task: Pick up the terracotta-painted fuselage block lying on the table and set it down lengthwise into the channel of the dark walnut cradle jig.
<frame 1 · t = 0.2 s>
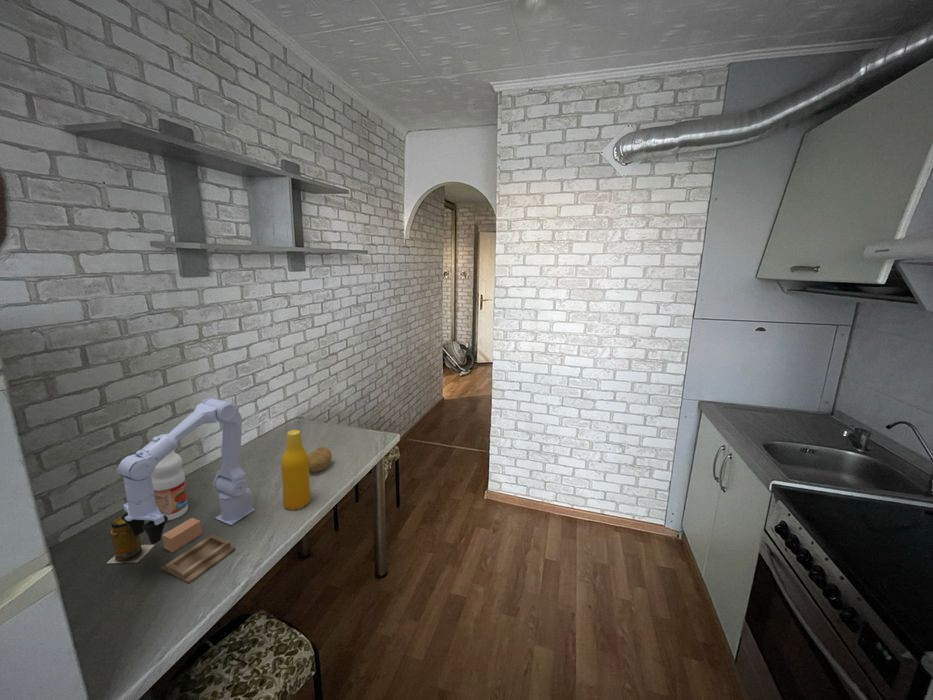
hand: (147, 537, 108), 10 cm above the table, fingers open, 7 cm apart
fruit juice: (172, 513, 133), on the table
cradle jig: (199, 559, 114), on the table
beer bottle: (297, 503, 142), on the table
fuselage: (183, 541, 121), on the table
potato: (318, 469, 166), on the table
condiment: (131, 554, 115), on the table
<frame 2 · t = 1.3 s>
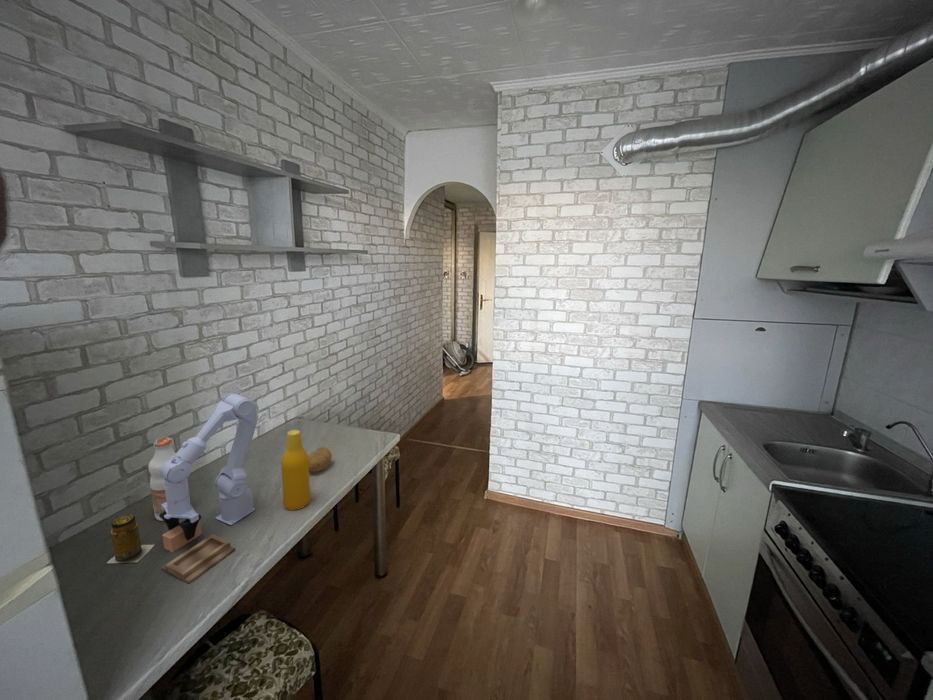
hand: (182, 534, 120), 2 cm above the table, fingers open, 7 cm apart
nothing on the table moved.
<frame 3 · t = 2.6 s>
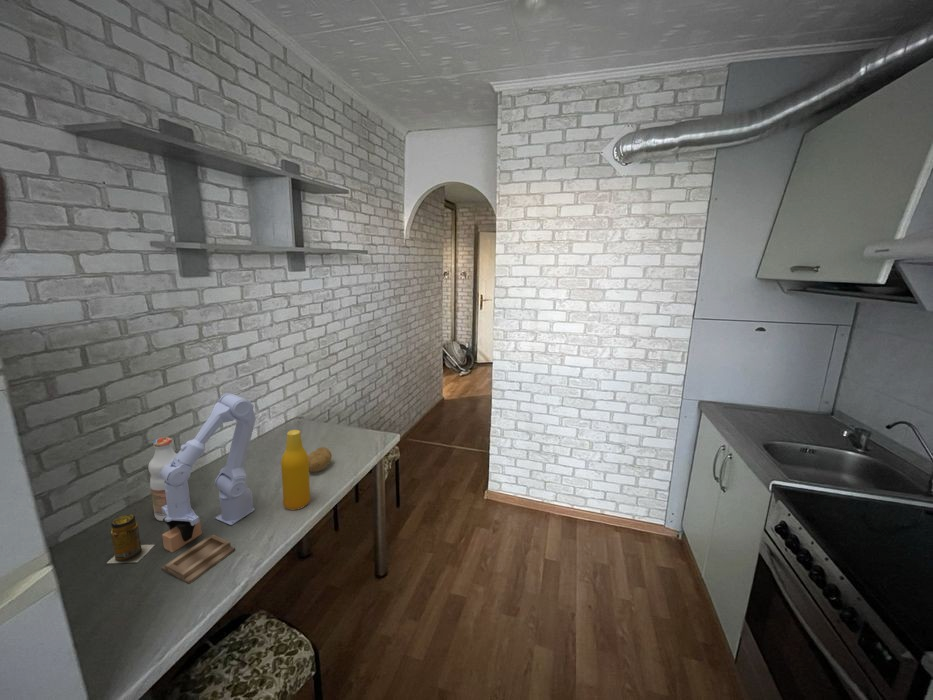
hand: (183, 537, 121), 1 cm above the table, fingers closed on fuselage, 4 cm apart
fuselage: (183, 540, 121), on the table, touching gripper
everything else where it was.
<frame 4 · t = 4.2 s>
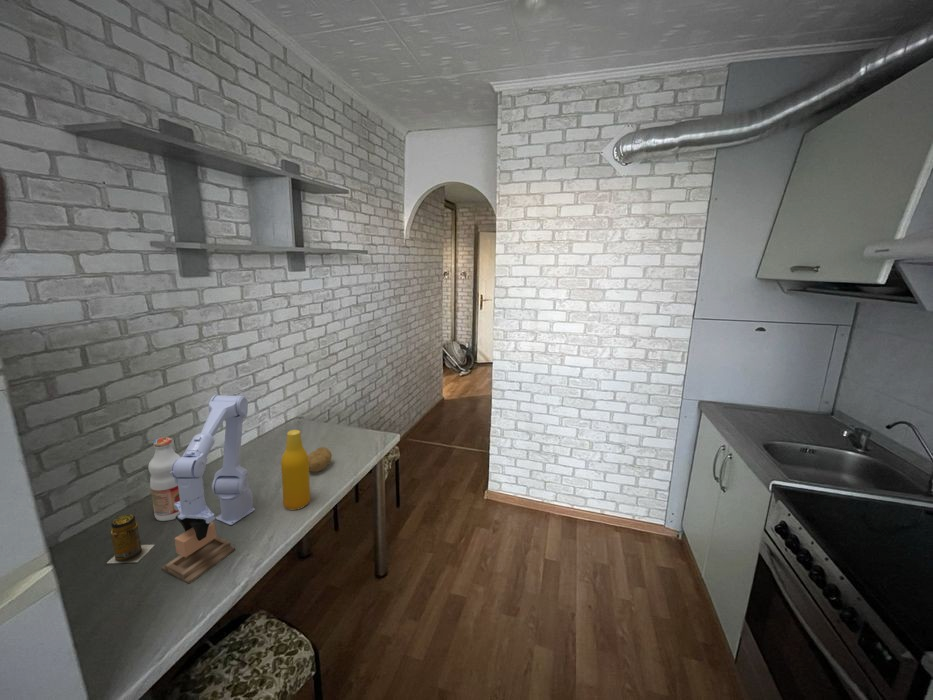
hand: (196, 535, 112), 8 cm above the table, fingers closed on fuselage, 4 cm apart
fuselage: (197, 544, 113), point 5 cm above the table, touching gripper
everything else where it was.
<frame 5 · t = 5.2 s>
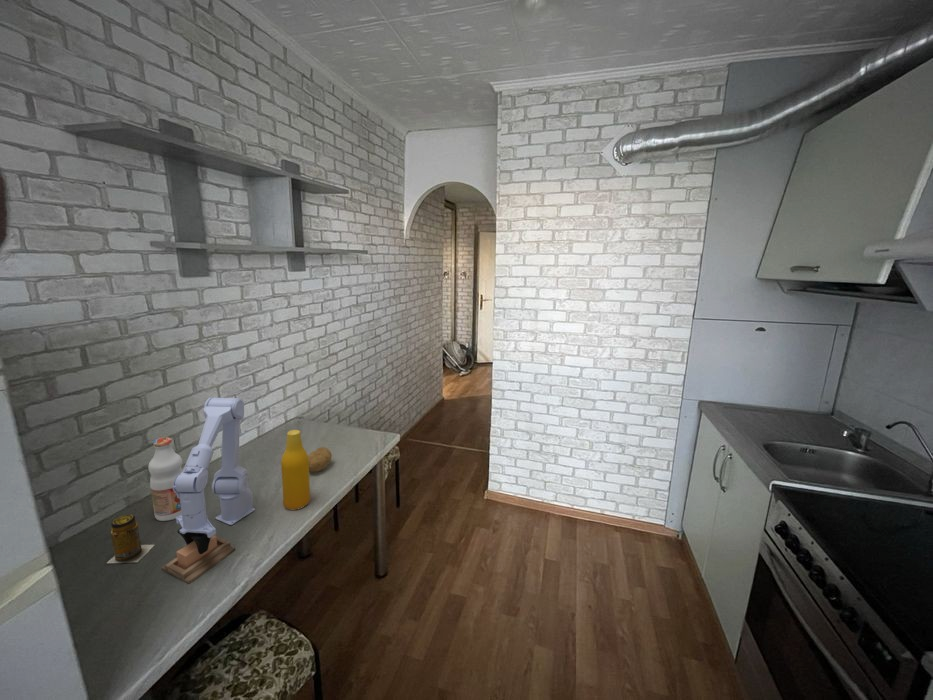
hand: (198, 549, 113), 4 cm above the table, fingers closed on fuselage, 4 cm apart
fuselage: (198, 558, 114), point 1 cm above the table, touching cradle jig, gripper
everything else where it was.
when the fingers open (4 cm above the table, at t = 5.8 s): fuselage stays where it is, resting on cradle jig.
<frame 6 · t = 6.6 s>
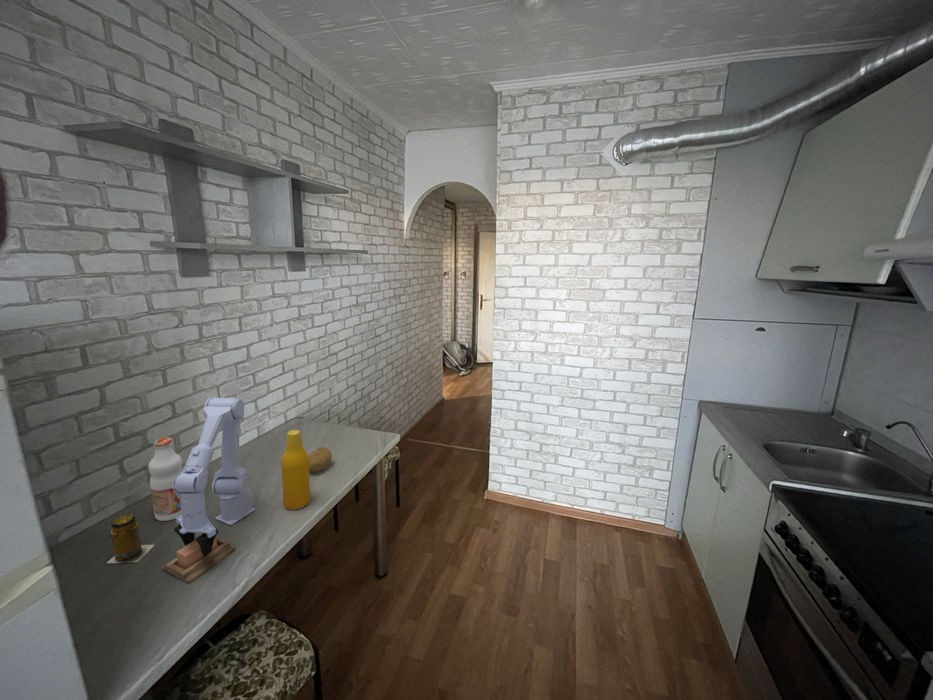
hand: (198, 549, 113), 4 cm above the table, fingers open, 7 cm apart
fuselage: (198, 558, 114), point 1 cm above the table, touching cradle jig
everything else where it was.
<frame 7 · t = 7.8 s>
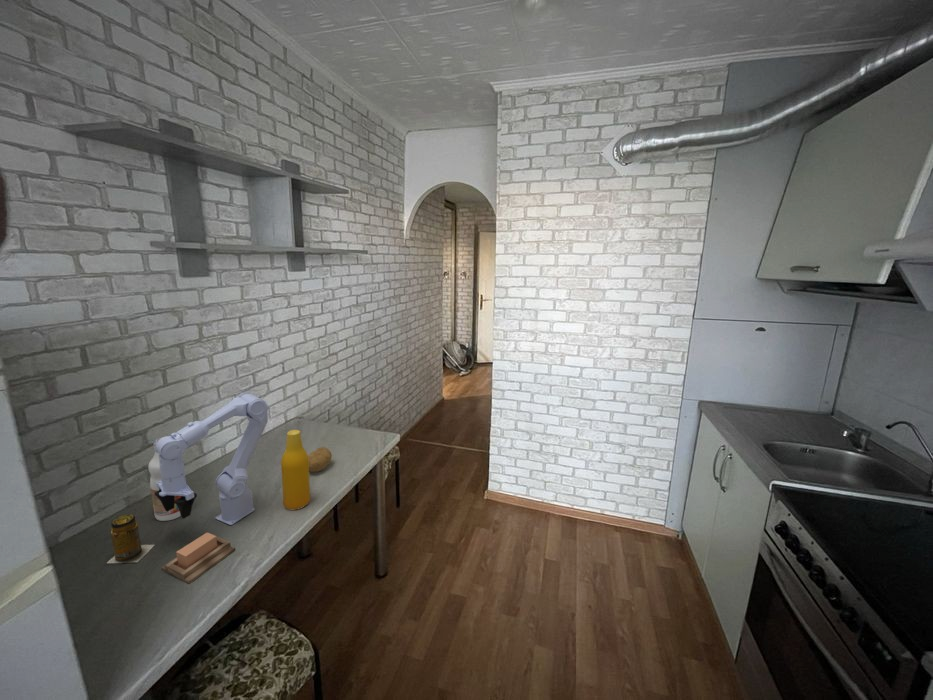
hand: (178, 513, 119), 10 cm above the table, fingers open, 7 cm apart
nothing on the table moved.
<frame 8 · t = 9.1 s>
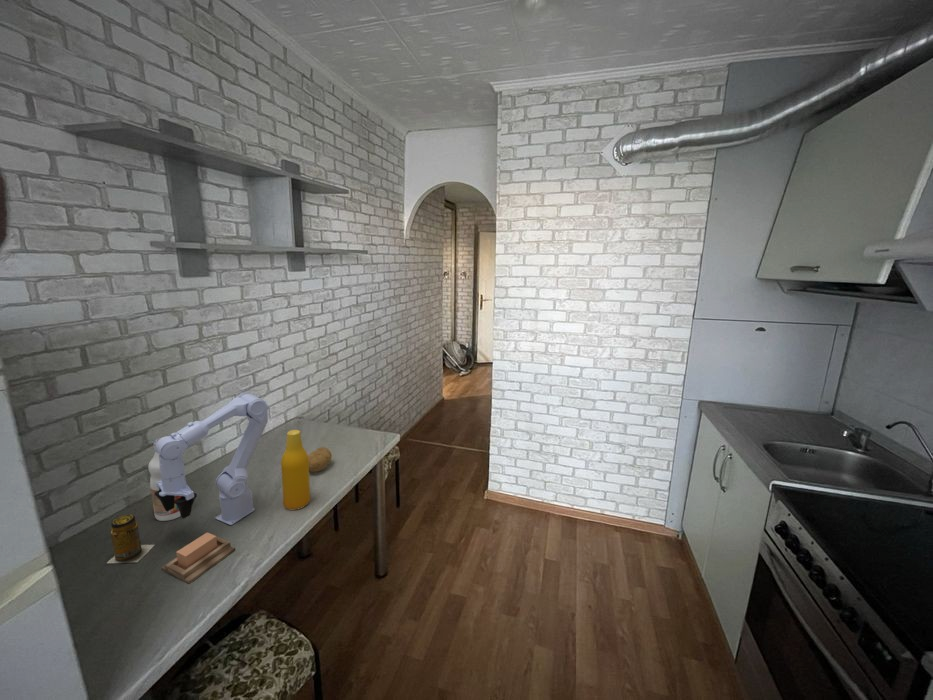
hand: (178, 512, 119), 10 cm above the table, fingers open, 7 cm apart
nothing on the table moved.
at the end: fuselage 0.3 cm off-centre on the cradle jig, point 0.8 cm above the cradle jig's base; fuselage tilted 0°; the gripper is holding nothing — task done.
